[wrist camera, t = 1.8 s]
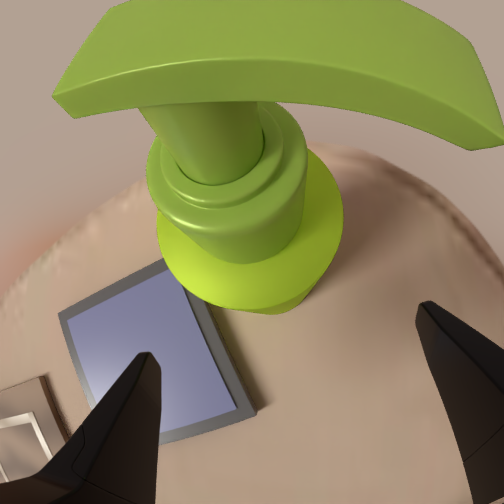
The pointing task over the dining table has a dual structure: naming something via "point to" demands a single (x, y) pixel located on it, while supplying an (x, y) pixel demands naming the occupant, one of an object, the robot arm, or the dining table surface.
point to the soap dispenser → (267, 122)
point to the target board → (28, 430)
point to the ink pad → (158, 350)
